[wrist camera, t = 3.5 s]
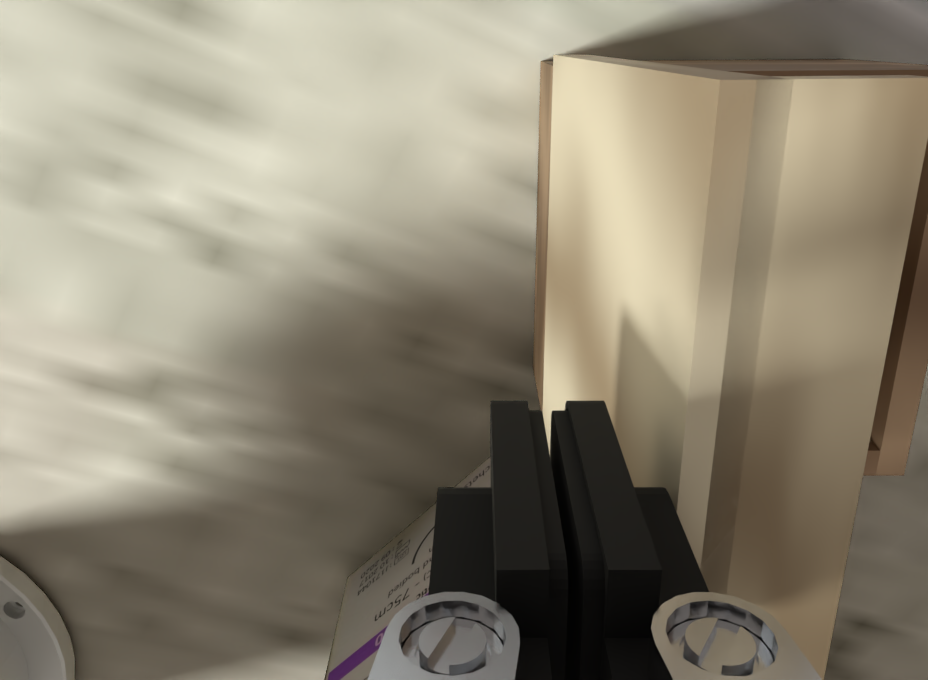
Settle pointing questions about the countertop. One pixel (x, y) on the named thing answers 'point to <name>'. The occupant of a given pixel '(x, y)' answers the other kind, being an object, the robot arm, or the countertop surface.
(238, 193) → the countertop surface
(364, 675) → the surgical sutures box
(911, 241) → the crate
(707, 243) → the lid
